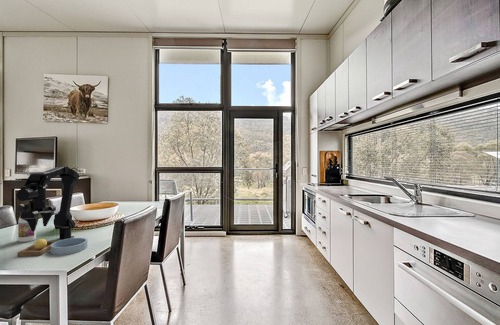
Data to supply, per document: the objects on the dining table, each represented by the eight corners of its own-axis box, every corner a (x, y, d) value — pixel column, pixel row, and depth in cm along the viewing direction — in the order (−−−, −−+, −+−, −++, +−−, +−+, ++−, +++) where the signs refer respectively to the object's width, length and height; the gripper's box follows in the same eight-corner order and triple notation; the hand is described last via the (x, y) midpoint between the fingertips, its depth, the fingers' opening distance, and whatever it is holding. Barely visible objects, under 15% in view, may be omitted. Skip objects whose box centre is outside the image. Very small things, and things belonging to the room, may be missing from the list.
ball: (37, 249, 137) (39, 239, 139) (48, 248, 138) (49, 238, 140) (31, 249, 133) (33, 238, 134) (42, 249, 133) (44, 238, 135)
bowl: (61, 245, 144) (61, 238, 144) (92, 244, 146) (92, 237, 146) (43, 256, 129) (43, 248, 129) (78, 254, 131) (78, 246, 131)
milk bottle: (22, 239, 155) (21, 204, 154) (38, 237, 158) (37, 203, 157) (15, 243, 148) (15, 207, 147) (32, 241, 150) (32, 206, 150)
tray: (39, 246, 143) (38, 241, 143) (59, 245, 144) (59, 241, 144) (17, 257, 127) (17, 252, 127) (40, 256, 128) (40, 251, 128)
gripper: (33, 195, 143) (33, 224, 143) (7, 201, 124) (7, 234, 125) (56, 195, 144) (56, 223, 145) (33, 200, 126) (33, 233, 126)
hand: (39, 228), depth 135 cm, fingers open, 9 cm apart
